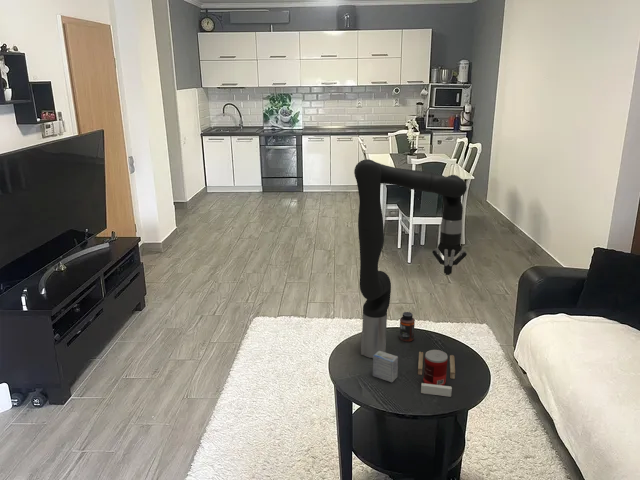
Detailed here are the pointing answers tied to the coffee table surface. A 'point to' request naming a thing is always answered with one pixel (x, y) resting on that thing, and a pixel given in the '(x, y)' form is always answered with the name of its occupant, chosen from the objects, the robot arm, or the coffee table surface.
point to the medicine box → (385, 366)
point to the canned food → (435, 367)
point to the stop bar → (436, 389)
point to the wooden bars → (452, 365)
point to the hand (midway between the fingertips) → (447, 274)
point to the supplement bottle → (407, 327)
